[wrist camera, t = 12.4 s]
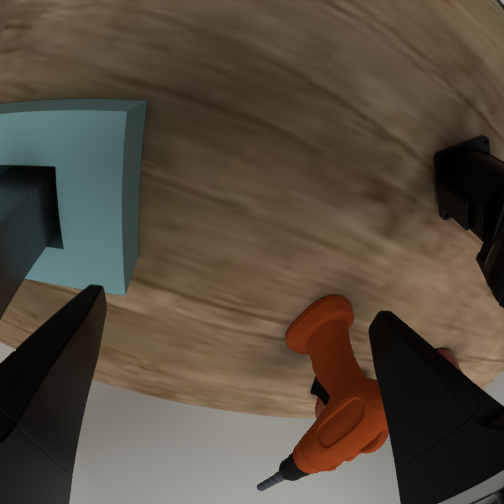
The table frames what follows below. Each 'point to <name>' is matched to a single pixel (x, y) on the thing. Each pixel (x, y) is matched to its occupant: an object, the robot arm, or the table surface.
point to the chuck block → (83, 183)
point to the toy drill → (333, 394)
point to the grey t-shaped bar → (25, 223)
